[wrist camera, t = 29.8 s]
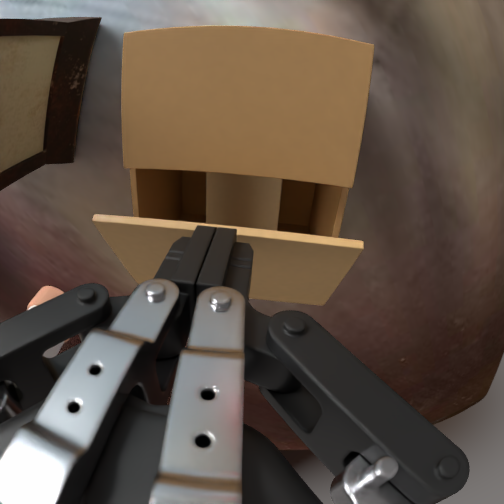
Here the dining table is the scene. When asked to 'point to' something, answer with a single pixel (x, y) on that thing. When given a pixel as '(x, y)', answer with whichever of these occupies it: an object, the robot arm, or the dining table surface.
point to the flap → (264, 258)
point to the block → (243, 200)
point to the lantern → (41, 91)
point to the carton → (243, 118)
